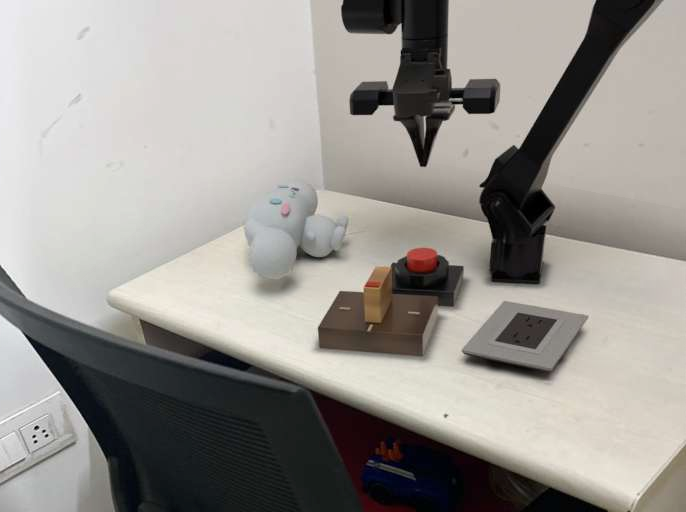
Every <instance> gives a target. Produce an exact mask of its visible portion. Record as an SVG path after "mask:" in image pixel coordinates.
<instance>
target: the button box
mask: <svg viewBox="0 0 686 512" xmlns="http://www.w3.org/2000/svg"><path fill="white" fill-rule="evenodd" d="M389 267H392V294H403V295H421V296H438V307H448V308H454V306H455V304H456V302H457V298H458V296H459V293H460V290H461V287H462V284H463V282H464V271H465V269H464V268H465V266H464V265H453V264H450V262H449V261H448V259H447V258H446V257H445V256H443V255H439V254H437V267H436V268H435V269H433V270H429V271H424V272H420V271H412V270H409V269H408V268H407V255H405V256H403V257H401V258H398V260H397V261H396V262H391V264H390V266H389Z"/></svg>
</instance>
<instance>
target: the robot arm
mask: <svg viewBox="0 0 686 512" xmlns="http://www.w3.org/2000/svg"><path fill="white" fill-rule="evenodd" d="M663 2H664V0H595V1H594V4H593V6H592V9H591V13H590V17H589V21H588V25H587V29H586V32H585V36H584V38H583V39H582V41H581V43H580V45H579V46H578V47H577V50H576V51H575V53H574V55H573V56H572V58H571V60H570V61H569V62H568V65H567V67H566V68H565V70H564V72H563V74H561V77H560V78H559V80H558V82H557V84H556V85H555V87H554V89H553V90H552V92H551V94H550V95H549V97H548V99H547V101H546V102H545V104H544V106H543V108H542V109H541V111H540V112H539V114H538V115H537V117H536V119H535V121H534V123H533V125H532V126H531V128H530V130H529V131H528V133H527V134H526V136H525V138H524V140H523V142H522V143H521V144H520V146H519V148H518V147H517V146H516V145H515V144H512V145H511V146H509V148H507V149H506V150H504V151H503V152H502V153H501V154H500V155H498V156H497V157H496V158H494V161H493V163H492V165H491V168H490V171H489V173H488V175H487V177H486V178H485V179H484V180H483V181H482V182H481V183H480V184H479V185H478V186H479V188H480V189H481V188H482V190H481V192H480V195H479V200H478V203H479V205H480V210H481V212H482V213H483V216H484V217H485V218H486V220H487V223H488V226H489V230H490V233H491V234H490V235H491V237H492V240H491V243H490V252H489V253H490V255H489V270H488V271H489V272H490V273H491V276H490V281H491V282H492V283H493V282H494V283H508V284H509V283H511V284H528V285H529V284H533V285H539V284H540V283H541V280H542V275H543V270H544V263H545V262H544V254H545V253H544V252H545V244H546V234H547V225H545V224H547V223H548V222H549V221H550V220H551V218H552V216H553V214H554V213H555V210H556V205H555V204H554V203H553V202H552V200H551V199H550V197H549V195H547V194H546V193H545V191H544V190H543V189H542V188H543V186H544V183H545V181H546V179H547V176H548V174H549V173H548V172H549V169H550V164H551V161H552V159H553V156H554V154H555V153H556V150H558V148H559V146H560V145H561V143H562V141H563V140H564V138H565V137H566V135H567V133H568V132H569V130H570V129H571V127H572V125H573V124H574V122H575V121H576V119H577V118H578V116H579V114H580V113H581V111H582V110H583V108H584V107H585V105H586V103H587V102H588V101H589V99H590V97H591V96H592V94H593V93H594V91H595V89H596V88H597V86H598V84H599V83H600V81H601V80H602V78H603V76H604V75H605V73H606V72H607V71H608V69H609V67H610V66H611V64H612V62H613V61H614V59H615V57H616V56H617V55H618V53H619V51H620V50H621V49H622V47H623V46H625V44H626V43H627V42H628V41H629V40H630V39H631V37H632V36H633V35H634V34H635V33H637V31H638V30H639V29H640V28H641V27H642V26H643V25H644V23H645V22H646V21H648V19H649V18H650V17H651V16H652V15H653V13H655V12H656V10H657V9H658V8H659V6H660V5H661V4H662V3H663ZM449 7H450V0H342V5H341V6H340V14H341V20H342V25H343V26H344V29H345V30H346V32H347V33H349V34H355V35H357V34H359V35H393V34H394V33H395V32H396V31H397V29H398V26H400V27H401V29H400V32H401V38H400V39H401V40H400V41H401V44H400V45H401V48H400V56H399V66H398V70H397V72H396V76H395V80H394V82H393V86H392V88H389V85H388V81H387V80H381V81H376V80H375V81H362V82H360V83H359V84H358V86H356V88H355V89H353V91H352V92H351V93H350V95H349V100H348V101H349V115H352V116H373V115H374V114H375V113H376V111H377V110H378V109H379V108H380V107H381V106H393V110H394V114H393V115H392V119H393V121H394V122H399V123H400V124H401V125H402V126H403V127H404V128H405V130H406V131H407V134H408V135H409V138H410V141H411V143H412V146H413V150H414V153H415V156H416V158H417V161H418V164H419V167H420V168H427V166H428V164H429V161H430V158H431V155H432V152H433V149H434V146H435V143H436V139H437V137H438V133H439V130H440V128H441V126H442V124H443V122H446V121H449V120H451V119H450V118H451V117H452V116H453V114H454V112H455V110H456V105H462V109H463V110H464V111H465V112H466V113H467V115H490V114H494V113H496V110H497V108H498V105H499V104H500V102H501V101H500V100H501V83H500V81H499V80H498V79H497V78H470V79H469V80H468V82H467V83H466V85H465V86H464V87H453V81H452V80H453V79H452V73H451V68H448V55H449V53H448V51H449V14H450V13H449ZM424 117H425V118H424Z"/></svg>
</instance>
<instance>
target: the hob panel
mask: <svg viewBox="0 0 686 512" xmlns="http://www.w3.org/2000/svg"><path fill="white" fill-rule="evenodd" d="M438 318H439V306H438V296H421V295H403V294H392V302H391V304H390V306H389V308H388V310H387V312H386V314H385V316H384V318H383V320H382V322H381V323H373V322H365V310H364V291H352V290H351V291H350V290H340V291H338V294H337V295H336V296H335V298H334V300H333V302H332V303H331V304H330V306H329V308H328V310H327V311H326V313H325V315H324V316H323V318H322V319H321V321H320V323H319V324H318V326H317V334H318V345H319V349H324V350H335V351H346V352H347V351H349V352H360V353H361V352H362V353H374V354H385V355H397V356H399V355H400V356H411V357H423V356H424V354H425V351H426V349H427V346H428V344H429V342H430V338H431V336H432V334H433V331H434V328H435V325H436V323H437V320H438Z"/></svg>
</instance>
